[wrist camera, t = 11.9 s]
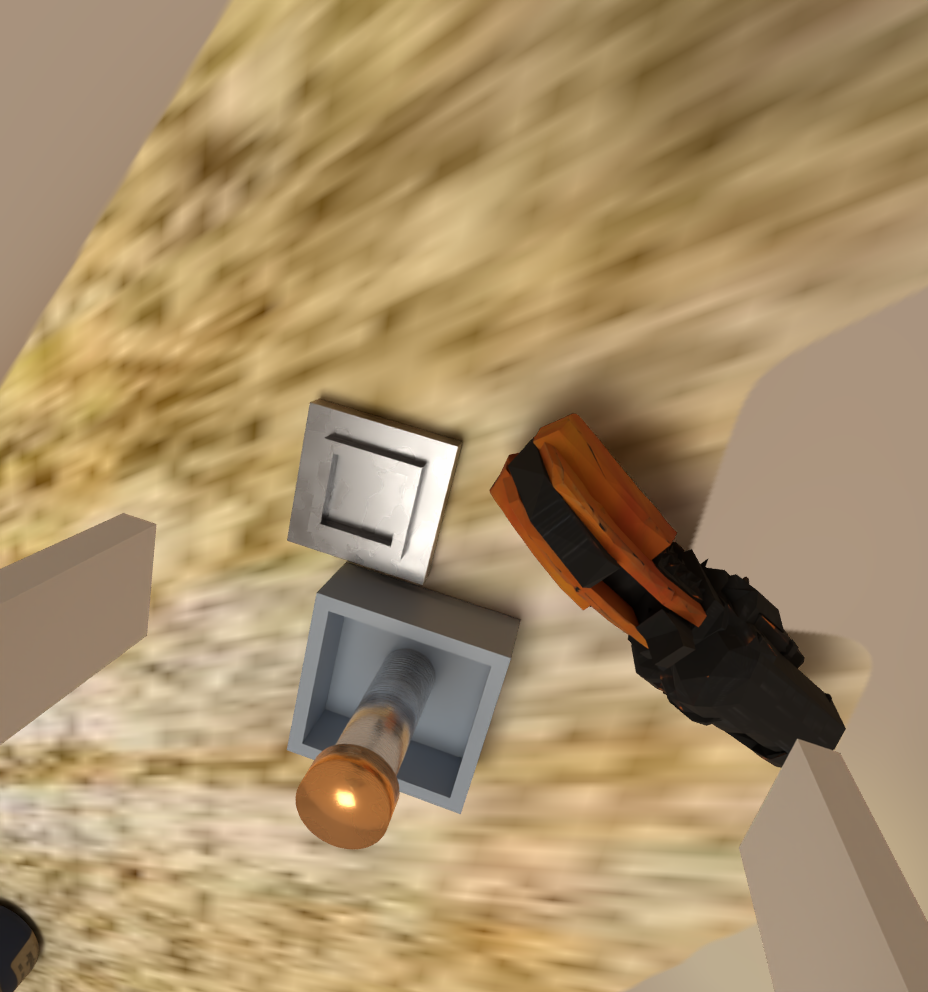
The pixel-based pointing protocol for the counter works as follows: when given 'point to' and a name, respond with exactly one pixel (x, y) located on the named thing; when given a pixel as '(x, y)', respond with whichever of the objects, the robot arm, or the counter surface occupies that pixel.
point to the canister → (15, 950)
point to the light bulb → (367, 757)
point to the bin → (364, 646)
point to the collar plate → (372, 490)
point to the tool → (662, 595)
